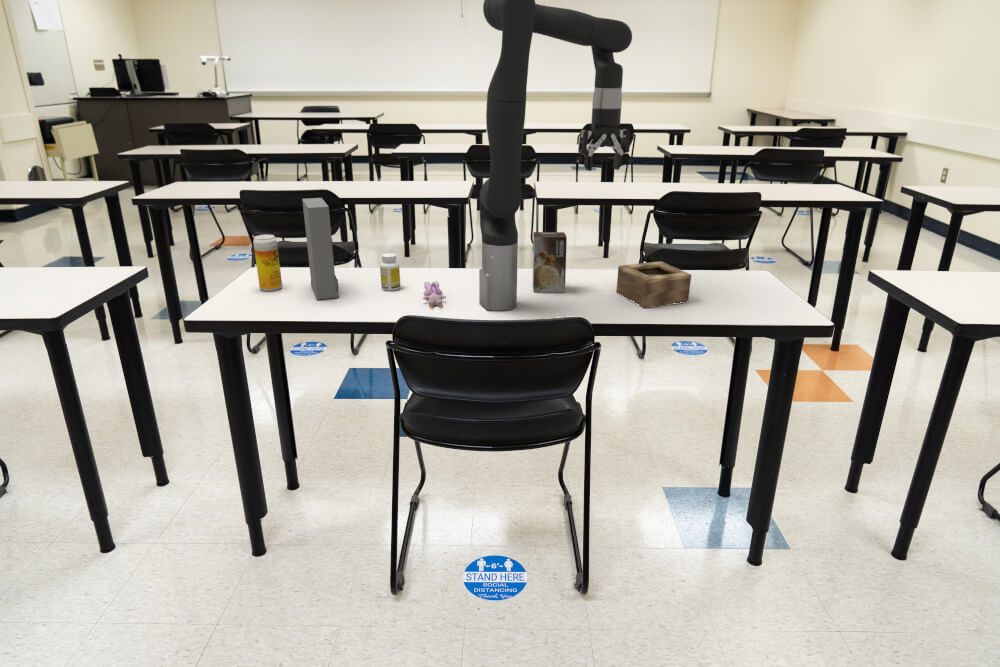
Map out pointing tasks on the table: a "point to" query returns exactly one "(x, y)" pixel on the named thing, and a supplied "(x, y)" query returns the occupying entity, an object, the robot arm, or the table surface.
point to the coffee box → (549, 261)
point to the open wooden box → (653, 284)
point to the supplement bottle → (390, 272)
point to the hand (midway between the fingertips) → (602, 169)
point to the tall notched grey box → (320, 248)
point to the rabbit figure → (433, 293)
